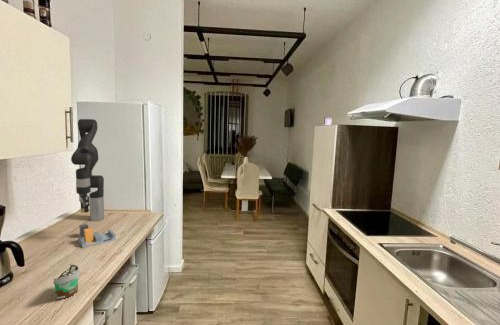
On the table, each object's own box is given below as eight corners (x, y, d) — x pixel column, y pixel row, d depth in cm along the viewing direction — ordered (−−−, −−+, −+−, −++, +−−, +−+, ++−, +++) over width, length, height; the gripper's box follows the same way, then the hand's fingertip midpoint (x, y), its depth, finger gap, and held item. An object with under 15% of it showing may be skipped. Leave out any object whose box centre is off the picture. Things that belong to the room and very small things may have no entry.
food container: (70, 302, 108) (69, 279, 107) (54, 302, 107) (53, 279, 106) (86, 284, 120) (85, 263, 119) (72, 284, 119) (71, 263, 118)
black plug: (79, 235, 171) (79, 225, 170) (87, 234, 174) (86, 223, 173) (81, 237, 168) (80, 227, 167) (88, 236, 171) (88, 225, 170)
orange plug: (84, 240, 162) (83, 229, 161) (91, 238, 165) (91, 227, 164) (85, 242, 160) (85, 231, 159) (93, 240, 162) (92, 229, 161)
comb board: (77, 240, 164) (77, 235, 164) (109, 233, 176) (109, 228, 176) (82, 248, 155) (82, 242, 154) (116, 240, 167) (115, 234, 166)
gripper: (73, 183, 168) (75, 208, 171) (79, 188, 158) (80, 214, 161) (87, 182, 173) (88, 206, 176) (93, 186, 163) (94, 212, 166)
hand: (84, 210), depth 168 cm, fingers open, 8 cm apart
